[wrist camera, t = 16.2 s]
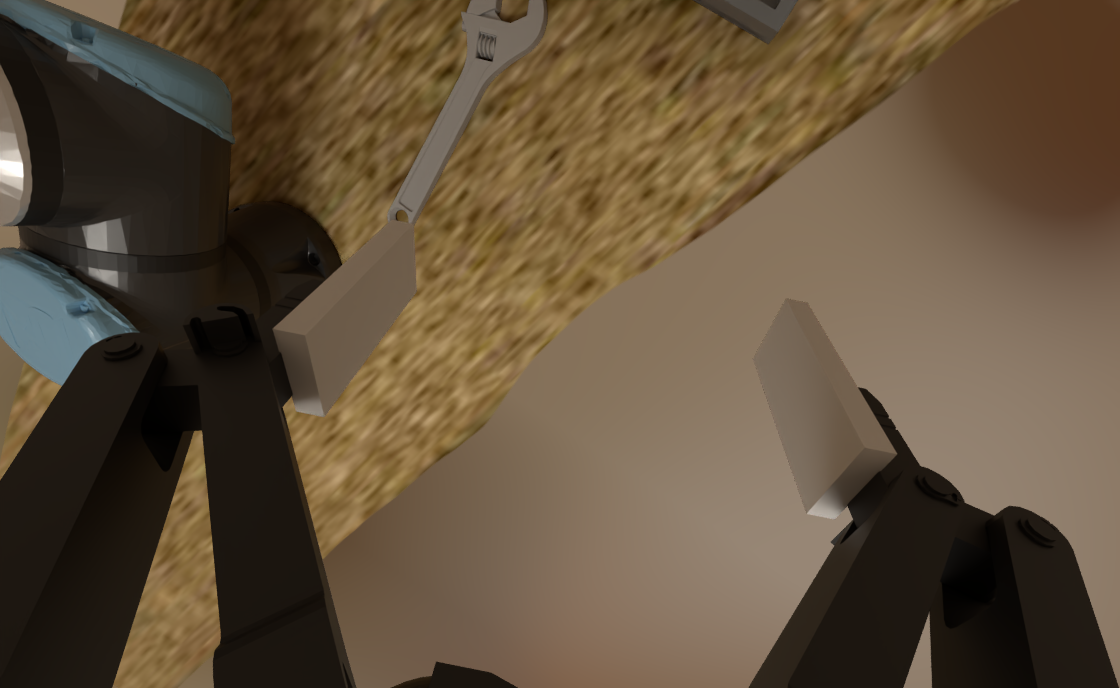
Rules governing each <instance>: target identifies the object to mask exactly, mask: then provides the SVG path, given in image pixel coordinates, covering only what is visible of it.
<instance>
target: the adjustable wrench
mask: <svg viewBox="0 0 1120 688" xmlns="http://www.w3.org/2000/svg"><path fill="white" fill-rule="evenodd" d="M501 5H502V0H471V2H470V4H469V7H468V9H467V13H465V12H461V15H462V19H463V23H462V29H463V31H465V32H467V48H468V49H467V58H466V62H465V66H464V68H463V71H462V73H461V75H460V77H459V79H458V81H457V83H456V85H455V87H454V88H453V90H452V92H451V94H450V96H449V98H448V100H447V102H446V104H445V105H444V107H443V109H442V111H441V113H440V115H439V117H438V119H437V121H436V122H435V124H434V126H433V128H432V130H431V132H430V134H429V136H428V138H427V139H426V141H425V143H424V145H423V147H422V149H421V151H420V153H419V155H418V156H417V158H416V160H415V162H414V164H413V166H412V168H411V170H410V172H409V173H408V175H407V177H406V179H405V181H404V183H403V185H402V187H401V189H400V190H399V192H398V194H397V196H396V198H395V200H394V202H393V204H392V206H391V207H390V209H389V211H388V222H390V221H391V220H396V213H397V211H399V210H404V211H405V212H406V213H407V215H408V218H409V223H412V224H414V225H415V223H416V221H417V219H418V217H419V215H420V214H421V212H422V210H423V208H424V206H425V204H426V202H427V200H428V198H429V196H430V195H431V193H432V191H433V189H434V187H435V185H436V183H437V181H438V179H439V177H440V176H441V174H442V172H443V170H444V168H445V166H446V164H447V162H448V160H449V158H450V157H451V155H452V153H453V151H454V149H455V147H456V145H457V143H458V141H459V139H460V138H461V136H462V134H463V132H464V130H465V128H466V126H467V124H468V122H469V120H470V119H471V117H472V115H473V113H474V111H475V109H476V107H477V105H478V103H479V102H480V100H481V98H482V96H483V94H484V92H485V90H486V89H487V87H488V86H489V84H490V83H491V82H492V81H493V80H494V79H495V77H496V76H498V75H499V74H500V73H501V72H502V71H504V70H505V69H506V68H507V67H508V66H510V65H511V64H512V63H514V62H515V61H517V60H518V59H520V58H522V57H523V56H525V55H526V54H528V53H529V52H531V51H532V50H533V49H534V48H535V47H536V46H537V45H538V44H539V42H540V41H541V39H542V37H543V35H544V32H545V29H546V25H547V4H546V0H529V6H528V12H527V16H525V17H523V18H521V19H519V20H516V21H514V22H512V23H508V22H504V21H502V20H501V19H500V17H499V16H498V15H497V13H500V12H501ZM481 57H483V58H485V57H486V59H491V60H493V62H490V61H486V60H482V59H481Z"/></svg>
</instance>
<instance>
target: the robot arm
mask: <svg viewBox="0 0 1120 688" xmlns="http://www.w3.org/2000/svg"><path fill="white" fill-rule="evenodd" d="M231 144H235V138H234V136H233V135H232V99H231V95H230V92H229V90H228V88H227V86H226V85H225V83H224V82H223V81H222V80H221V79H220V78H219V77H218V76H217V75H216V74H215V73H213V72H212V71H210V70H209V69H207V68H205V67H203V66H201V65H199V64H197V63H195V62H193V61H191V60H188V59H186V58H184V57H182V56H180V55H177V54H175V53H173V52H171V51H168V50H166V49H164V48H161V47H159V46H157V45H154V44H152V43H150V42H147V41H145V40H142V39H140V38H138V37H135V36H133V35H131V34H128V33H126V32H123V31H121V30H118V29H116V28H113V27H111V26H108V25H106V24H104V23H101V22H99V21H96V20H94V19H91V18H89V17H86V16H84V15H81V14H79V13H76V12H74V11H71V10H69V9H66V8H64V7H61V6H58V5H56V4H53V3H51V2H48V1H45V0H0V226H18V228H19V235H20V247H19V248H18V249H16V248H1V249H0V336H1V337H2V338H3V339H4V341H5V342H6V343H7V344H8V345H9V346H10V347H11V348H12V349H13V350H14V351H15V352H16V353H17V354H18V355H19V356H20V357H21V358H22V359H23V360H24V361H25V362H26V363H28V364H29V365H30V366H31V367H32V368H34V369H35V370H37V371H38V372H39V373H41V374H42V375H44V376H45V377H47V378H48V379H50V380H52V381H53V382H55V383H57V384H59V385H61V386H62V387H61V388H60V390H59V391H58V393H57V395H56V396H55V398H54V399H53V401H52V402H51V404H50V405H49V407H48V408H47V410H46V411H45V413H44V414H43V416H42V418H41V419H40V421H39V422H38V424H37V425H36V427H35V428H34V430H33V431H32V433H31V434H30V436H29V437H28V439H27V440H26V442H25V444H24V445H23V447H22V448H21V450H20V451H19V453H18V454H17V456H16V457H15V459H14V460H13V462H12V463H11V465H10V467H9V468H8V470H7V471H6V473H5V474H4V476H3V477H2V479H1V480H0V688H112V686H113V683H114V680H115V677H116V674H117V671H118V668H119V665H120V661H121V658H122V655H123V652H124V649H125V646H126V643H127V640H128V636H129V633H130V630H131V627H132V624H133V621H134V618H135V614H136V611H137V608H138V605H139V602H140V599H141V596H142V593H143V589H144V586H145V583H146V580H147V577H148V574H149V571H150V568H151V564H152V561H153V558H154V555H155V552H156V549H157V546H158V543H159V539H160V536H161V533H162V530H163V527H164V524H165V521H166V517H167V514H168V511H169V508H170V505H171V502H172V499H173V496H174V492H175V489H176V486H177V483H178V480H179V477H180V474H181V471H182V467H183V464H184V461H185V458H186V455H187V452H188V449H189V446H190V442H191V439H192V436H193V433H194V431H199V430H202V434H203V445H204V456H205V466H206V477H207V488H208V499H209V510H210V521H211V531H212V542H213V553H214V564H215V575H216V586H217V596H218V607H219V618H220V629H221V641H220V645H219V646H218V647H217V648H216V650H215V652H214V658H213V679H214V688H356V685H355V682H354V678H353V674H352V671H351V667H350V664H349V661H348V657H347V653H346V650H345V646H344V642H343V638H342V634H341V630H340V627H339V623H338V619H337V615H336V611H335V607H334V603H333V599H332V595H331V592H330V588H329V584H328V580H327V576H326V572H325V568H324V564H323V561H322V557H321V553H320V549H319V545H318V541H317V537H316V533H315V530H314V526H313V522H312V518H311V514H310V510H309V506H308V502H307V499H306V495H305V491H304V487H303V483H302V479H301V475H300V471H299V468H298V464H297V460H296V456H295V452H294V448H293V444H292V441H291V437H290V433H289V429H288V425H287V421H286V417H285V414H284V410H283V406H284V404H285V403H286V402H287V401H288V400H289V399H290V397H291V396H292V398H293V402H294V405H295V409H296V411H297V412H302V413H307V414H312V415H317V416H322V417H325V415H326V414H327V413H328V411H329V410H330V409H331V407H332V406H333V404H334V403H335V402H336V400H337V399H338V398H339V396H340V395H341V394H342V392H343V391H344V390H345V388H346V387H347V385H348V384H349V383H350V381H351V380H352V379H353V377H354V376H355V375H356V373H357V372H358V370H359V369H360V368H361V366H362V365H363V364H364V362H365V361H366V360H367V358H368V357H369V356H370V354H371V353H372V351H373V350H374V349H375V347H376V346H377V345H378V343H379V342H380V341H381V339H382V338H383V336H384V335H385V334H386V332H387V331H388V330H389V328H390V327H391V326H392V324H393V323H394V321H395V320H396V319H397V317H398V316H399V315H400V313H401V312H402V311H403V309H404V308H405V307H406V305H407V304H408V302H409V301H410V300H411V298H412V297H413V296H414V294H415V293H416V292H417V290H416V267H415V244H414V224H412V223H407V222H402V221H397V220H391V221H390V222H389V223H388V224H387V225H385V226H384V227H383V228H382V229H381V230H380V231H379V232H378V233H377V234H376V235H375V236H373V237H372V238H371V239H370V240H369V241H368V242H367V243H366V244H365V245H364V246H363V247H361V248H360V249H359V250H358V251H357V252H356V253H355V254H354V255H353V256H352V257H350V258H349V259H348V260H347V261H346V262H345V263H344V264H343V265H342V266H341V263H340V260H339V257H338V255H337V252H336V250H335V248H334V246H333V244H332V243H331V241H330V239H329V238H328V236H327V235H326V234H325V232H324V231H323V230H322V229H321V228H320V226H319V225H318V224H317V223H316V222H315V221H314V220H312V219H311V218H310V217H309V216H307V215H306V214H305V213H303V212H302V211H300V210H298V209H296V208H294V207H292V206H290V205H287V204H284V203H279V202H270V201H268V202H255V203H247V204H243V205H240V206H237V207H235V208H233V209H231V210H230V211H228V205H229V183H230V161H231ZM753 361H754V364H755V366H756V369H757V372H758V375H759V378H760V381H761V384H762V387H763V390H764V393H765V395H766V398H767V401H768V404H769V407H770V410H771V413H772V416H773V419H774V421H775V424H776V427H777V430H778V433H779V436H780V439H781V442H782V445H783V447H784V450H785V453H786V456H787V459H788V462H789V465H790V468H791V470H792V473H793V476H794V479H795V482H796V485H797V488H798V491H799V494H800V496H801V499H802V502H803V505H804V508H805V511H806V513H807V514H810V515H815V516H821V517H825V518H831V519H836V517H837V516H838V515H839V514H840V513H841V512H842V511H843V510H844V509H845V508H846V507H847V506H848V508H849V510H850V513H851V515H852V518H853V520H852V521H851V522H850V523H849V524H848V525H847V526H846V527H845V528H844V529H843V530H842V531H841V532H840V533H839V534H838V535H837V536H836V537H835V538H834V539H833V540H832V541H831V543H832V544H833V545H835V546H834V548H833V549H832V551H831V552H830V554H829V555H828V557H827V559H826V561H825V562H824V564H823V565H822V567H821V569H820V570H819V572H818V574H817V575H816V577H815V579H814V580H813V582H812V584H811V585H810V587H809V588H808V590H807V592H806V593H805V595H804V597H803V598H802V600H801V602H800V603H799V605H798V607H797V608H796V610H795V612H794V613H793V615H792V617H791V618H790V620H789V622H788V623H787V625H786V626H785V628H784V630H783V631H782V633H781V635H780V636H779V638H778V640H777V641H776V643H775V645H774V646H773V648H772V650H771V651H770V653H769V655H768V656H767V658H766V660H765V661H764V663H763V664H762V666H761V668H760V669H759V671H758V673H757V674H756V676H755V678H754V679H753V681H752V683H751V684H750V686H749V688H903V687H904V684H905V681H906V678H907V675H908V672H909V669H910V666H911V663H912V661H913V658H914V655H915V652H916V649H917V646H918V643H919V640H920V637H921V634H922V631H923V629H924V626H925V623H926V620H927V617H928V614H929V611H930V637H931V668H932V688H1119V687H1118V683H1117V680H1116V678H1115V674H1114V672H1113V668H1112V665H1111V662H1110V659H1109V656H1108V653H1107V650H1106V648H1105V644H1104V641H1103V638H1102V635H1101V632H1100V629H1099V626H1098V623H1097V620H1096V617H1095V614H1094V611H1093V608H1092V605H1091V602H1090V599H1089V596H1088V593H1087V590H1086V587H1085V584H1084V581H1083V578H1082V575H1081V572H1080V569H1079V566H1078V563H1077V560H1076V557H1075V554H1074V551H1073V549H1072V547H1071V545H1070V543H1069V542H1068V540H1067V539H1066V538H1065V537H1064V536H1063V534H1062V533H1061V532H1059V530H1058V529H1057V528H1056V527H1055V526H1054V525H1053V524H1050V522H1049V521H1047V520H1045V519H1044V518H1043V517H1040V516H1039V515H1037V514H1035V513H1033V512H1032V511H1029V510H1026V509H1024V508H1021V507H1016V506H1008V507H1006V508H1004V509H1003V510H1001V511H1000V512H999V513H997V514H996V515H995V516H994V515H991V514H989V513H987V512H985V511H982V510H980V509H978V508H975V507H973V506H971V505H969V504H966V503H964V499H963V498H962V496H961V494H960V492H959V491H958V490H957V489H956V488H955V487H954V486H953V485H952V483H950V482H949V481H948V480H947V479H945V478H944V477H942V476H941V475H940V474H938V473H936V472H934V471H932V470H930V469H928V468H925V467H921V466H920V465H919V463H918V462H917V460H916V458H915V457H914V455H913V454H912V452H911V450H910V449H909V447H908V446H907V444H906V442H905V441H904V439H903V438H902V436H901V435H900V433H899V431H898V430H896V427H895V425H894V423H893V422H892V420H891V419H889V418H888V417H889V415H888V414H887V412H886V411H885V409H884V407H883V406H882V404H881V403H880V402H879V401H878V400H877V399H876V398H875V397H874V396H873V395H872V394H871V393H870V392H868V390H866V389H864V388H859V387H857V385H856V384H855V382H854V380H853V379H852V377H851V376H850V373H849V372H848V370H847V368H846V367H845V365H844V363H843V362H842V360H841V358H840V357H839V355H838V353H837V352H836V350H835V349H834V347H833V345H832V343H831V342H830V340H829V338H828V336H827V335H826V333H825V331H824V330H823V328H822V326H821V325H820V323H819V321H818V320H817V318H816V316H815V315H814V313H813V311H812V309H811V308H810V306H809V304H808V303H806V302H801V301H796V300H791V299H785V301H784V303H783V304H782V306H781V308H780V310H779V312H778V314H777V315H776V317H775V319H774V321H773V323H772V325H771V326H770V328H769V330H768V332H767V334H766V336H765V338H764V339H763V341H762V343H761V345H760V347H759V348H758V350H757V352H756V354H755V356H754V358H753ZM392 688H517V687H516V686H514V685H512V684H510V683H509V682H507V681H505V680H503V679H501V678H500V677H498V676H496V675H494V674H492V673H489V672H485V671H480V670H474V669H470V668H465V667H460V666H455V665H450V664H445V663H440V662H436V664H435V668H434V671H433V674H432V676H429V677H420V678H417V679H413V680H410V681H406V682H403V683H401V684H399V685H396V686H394V687H392Z"/></svg>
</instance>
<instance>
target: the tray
mask: <svg viewBox="0 0 1120 688" xmlns="http://www.w3.org/2000/svg"><path fill="white" fill-rule="evenodd" d="M694 1H695V2H697V3H699V4H700V5H702V6H704V7H706V8H707V9H709V10H711V11H712V12H714V13H716V14H718V15H719V16H721V17H723V18H724V19H726V20H728V21H730V22H731V23H733V24H735V25H736V26H738V27H740V28H741V29H743V30H745V31H747V32H748V33H750V34H752V35H753V36H755V37H757V38H759V39H760V40H762V41H764V42H765V43H767V44H769V43H770V41H771V40H772V39H773V38H774V37H775V35H776V34H777V33H778V32H779V30H780V28H781V27H782V25H783V23H784V22H785V20H786V19H787V17H788V15H789V14H790V12H791V10H792V9H793V7H794V6H795V4H796V2H797V1H798V0H694Z"/></svg>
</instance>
